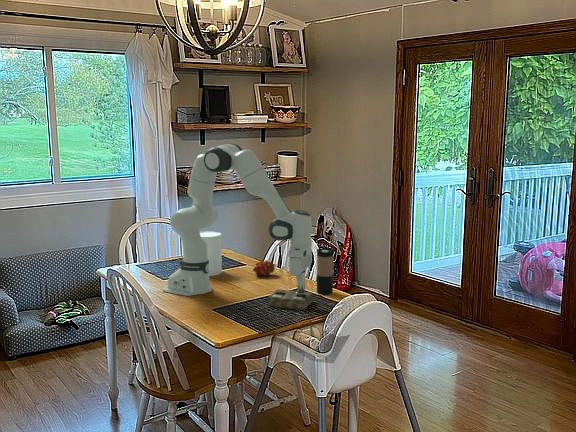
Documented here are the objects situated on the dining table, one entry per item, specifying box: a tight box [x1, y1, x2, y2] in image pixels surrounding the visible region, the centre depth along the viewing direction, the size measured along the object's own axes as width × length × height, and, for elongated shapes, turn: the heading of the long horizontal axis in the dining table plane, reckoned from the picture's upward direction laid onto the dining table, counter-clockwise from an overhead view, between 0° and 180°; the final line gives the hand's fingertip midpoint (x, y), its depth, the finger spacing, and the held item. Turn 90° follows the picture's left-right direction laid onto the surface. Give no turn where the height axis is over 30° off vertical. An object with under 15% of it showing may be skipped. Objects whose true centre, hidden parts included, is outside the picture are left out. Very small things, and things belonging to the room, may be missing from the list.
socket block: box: [267, 288, 313, 311], centre depth 260 cm, size 16×12×4 cm
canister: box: [200, 231, 223, 277], centre depth 308 cm, size 14×14×20 cm
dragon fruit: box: [252, 259, 276, 277], centre depth 304 cm, size 8×8×12 cm
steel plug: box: [296, 270, 306, 293], centre depth 257 cm, size 3×3×10 cm
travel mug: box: [316, 247, 335, 296], centre depth 275 cm, size 8×8×20 cm
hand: (301, 280), depth 257 cm, fingers closed on steel plug, 3 cm apart
